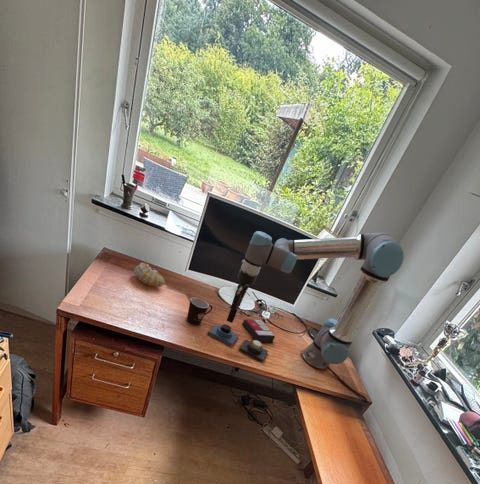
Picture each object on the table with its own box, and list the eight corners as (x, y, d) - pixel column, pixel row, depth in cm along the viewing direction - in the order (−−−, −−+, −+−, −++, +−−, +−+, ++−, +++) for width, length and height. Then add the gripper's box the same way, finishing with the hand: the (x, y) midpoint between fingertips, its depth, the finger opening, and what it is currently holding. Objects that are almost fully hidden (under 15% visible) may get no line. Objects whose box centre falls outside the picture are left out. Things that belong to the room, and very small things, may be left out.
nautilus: (133, 267, 176) (161, 277, 182) (130, 284, 160) (162, 294, 166) (136, 252, 171) (166, 263, 177) (134, 268, 156) (166, 279, 162)
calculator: (261, 319, 180) (276, 335, 171) (258, 326, 182) (272, 342, 174) (244, 317, 174) (258, 334, 165) (241, 325, 176) (255, 341, 168)
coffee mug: (185, 324, 155) (191, 305, 149) (183, 314, 161) (189, 295, 154) (209, 330, 159) (216, 311, 153) (207, 320, 165) (213, 302, 159)
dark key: (230, 331, 160) (232, 327, 159) (227, 334, 157) (229, 331, 155) (222, 326, 160) (224, 323, 159) (219, 330, 156) (220, 326, 155)
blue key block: (237, 337, 164) (240, 331, 162) (231, 346, 156) (233, 340, 154) (215, 326, 164) (217, 320, 162) (207, 334, 156) (210, 328, 154)
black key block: (266, 353, 164) (269, 347, 162) (261, 362, 157) (265, 356, 154) (244, 341, 164) (247, 335, 162) (238, 350, 156) (241, 344, 154)
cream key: (261, 346, 160) (262, 343, 159) (258, 350, 157) (260, 347, 155) (252, 342, 160) (254, 338, 159) (250, 346, 157) (252, 342, 155)
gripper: (245, 264, 145) (226, 312, 160) (236, 272, 135) (217, 322, 150) (260, 272, 145) (240, 319, 160) (253, 280, 135) (232, 330, 150)
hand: (229, 321), depth 155 cm, fingers closed
